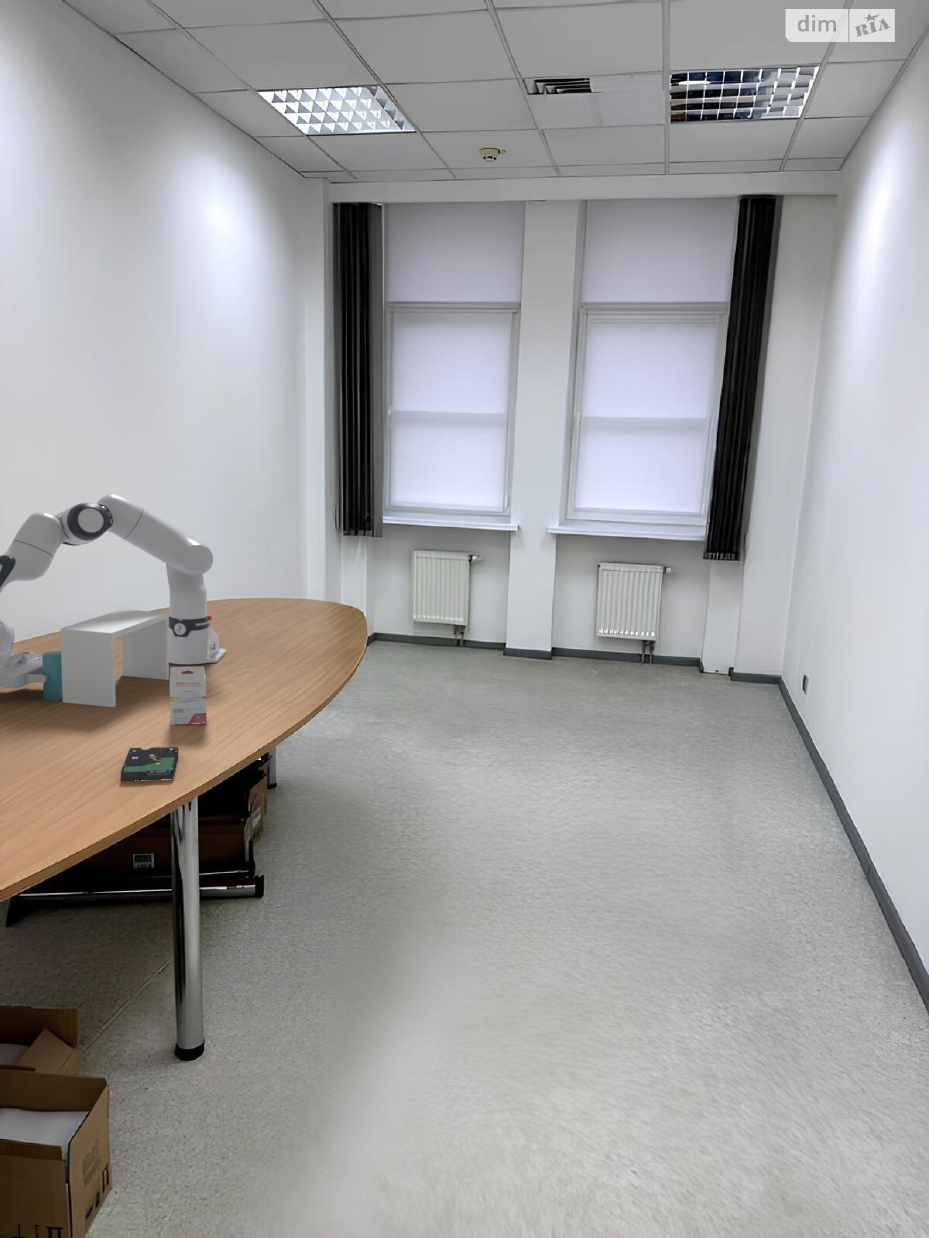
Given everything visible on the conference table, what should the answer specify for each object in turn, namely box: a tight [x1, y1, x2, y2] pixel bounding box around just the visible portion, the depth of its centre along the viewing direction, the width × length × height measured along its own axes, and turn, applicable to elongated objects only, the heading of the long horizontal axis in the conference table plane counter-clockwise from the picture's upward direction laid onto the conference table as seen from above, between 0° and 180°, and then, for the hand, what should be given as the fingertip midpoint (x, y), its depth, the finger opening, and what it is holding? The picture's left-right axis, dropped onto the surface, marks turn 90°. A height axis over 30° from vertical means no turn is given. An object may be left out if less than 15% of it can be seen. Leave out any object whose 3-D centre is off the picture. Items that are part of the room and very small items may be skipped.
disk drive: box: [120, 746, 179, 782], centre depth 181 cm, size 10×3×15 cm
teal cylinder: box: [41, 650, 63, 702], centre depth 225 cm, size 6×6×12 cm
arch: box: [60, 608, 170, 708], centre depth 234 cm, size 30×14×20 cm, turn 172°
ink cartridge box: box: [169, 666, 207, 726], centre depth 211 cm, size 9×5×15 cm, turn 105°
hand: (57, 674), depth 225 cm, fingers open, 8 cm apart
